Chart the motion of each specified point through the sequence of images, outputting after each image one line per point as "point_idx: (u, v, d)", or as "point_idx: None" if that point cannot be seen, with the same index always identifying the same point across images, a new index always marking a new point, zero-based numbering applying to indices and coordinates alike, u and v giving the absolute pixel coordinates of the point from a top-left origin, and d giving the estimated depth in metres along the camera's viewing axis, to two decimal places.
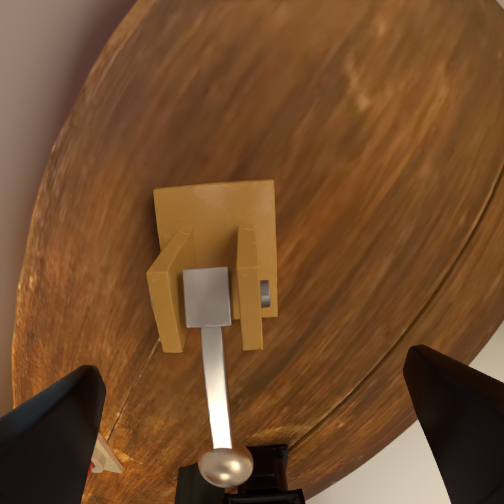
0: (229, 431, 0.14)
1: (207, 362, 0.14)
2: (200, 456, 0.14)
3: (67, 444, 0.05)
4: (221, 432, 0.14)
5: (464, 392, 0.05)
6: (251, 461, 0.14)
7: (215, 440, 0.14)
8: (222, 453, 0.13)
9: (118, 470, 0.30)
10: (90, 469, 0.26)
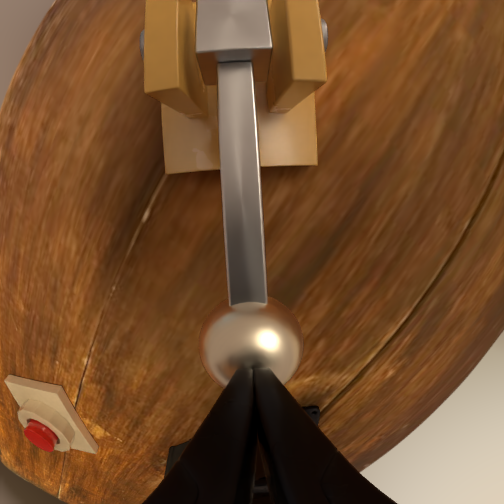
0: (263, 261, 0.08)
1: (226, 116, 0.08)
2: (203, 327, 0.08)
3: (252, 463, 0.05)
4: (247, 264, 0.08)
5: (265, 436, 0.05)
6: (301, 334, 0.09)
7: (235, 284, 0.08)
8: (249, 312, 0.08)
9: (91, 449, 0.23)
10: (52, 444, 0.19)
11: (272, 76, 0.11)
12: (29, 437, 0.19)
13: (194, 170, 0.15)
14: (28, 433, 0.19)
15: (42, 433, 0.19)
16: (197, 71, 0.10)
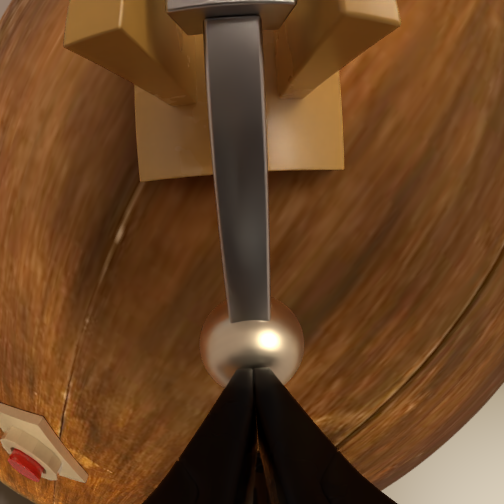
0: (267, 285, 0.07)
1: (220, 108, 0.05)
2: (204, 338, 0.08)
3: (252, 463, 0.05)
4: (249, 288, 0.07)
5: (265, 436, 0.05)
6: (303, 341, 0.08)
7: (235, 306, 0.07)
8: (251, 334, 0.08)
9: (80, 479, 0.19)
10: (38, 475, 0.15)
11: (287, 40, 0.07)
12: (14, 466, 0.15)
13: (177, 176, 0.11)
14: (12, 462, 0.14)
15: (26, 464, 0.15)
16: (176, 32, 0.06)
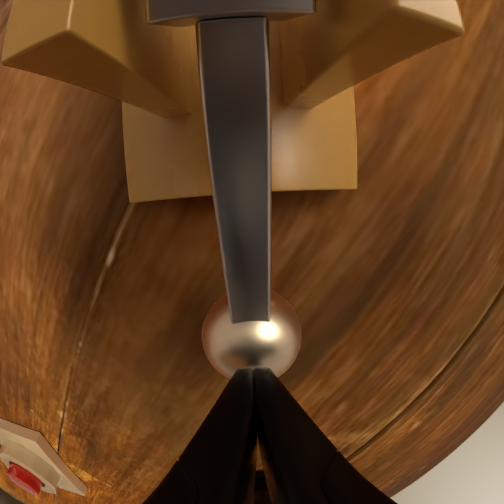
0: (268, 293, 0.07)
1: (219, 129, 0.05)
2: (206, 334, 0.09)
3: (252, 463, 0.05)
4: (250, 296, 0.07)
5: (265, 437, 0.05)
6: (300, 335, 0.09)
7: (237, 311, 0.08)
8: (251, 335, 0.08)
9: (79, 492, 0.18)
10: (37, 489, 0.14)
11: (298, 42, 0.06)
12: (12, 479, 0.14)
13: (171, 197, 0.10)
14: (11, 476, 0.13)
15: (24, 479, 0.14)
16: (164, 32, 0.05)
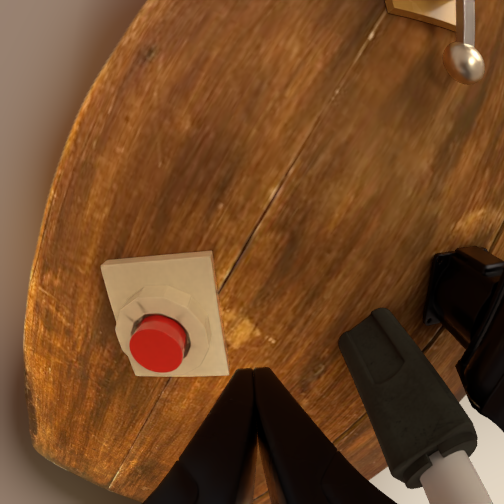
0: (474, 32, 0.11)
1: None
2: (454, 49, 0.12)
3: (252, 464, 0.05)
4: (470, 31, 0.11)
5: (265, 436, 0.05)
6: None
7: (466, 36, 0.11)
8: (472, 47, 0.11)
9: (224, 367, 0.22)
10: (183, 352, 0.18)
11: None
12: (137, 350, 0.18)
13: (412, 11, 0.13)
14: (141, 338, 0.17)
15: (170, 332, 0.18)
16: None
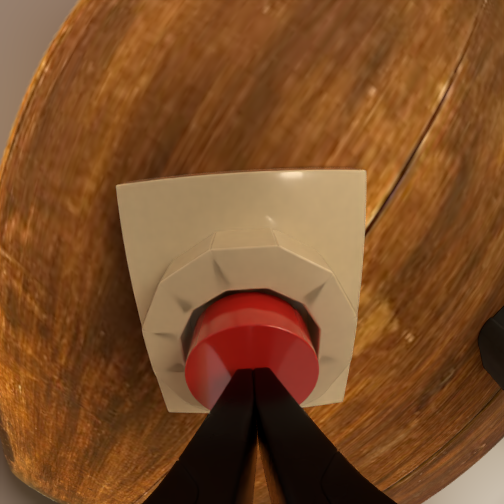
0: None
1: None
2: None
3: (252, 463, 0.05)
4: None
5: (265, 437, 0.05)
6: None
7: None
8: None
9: (340, 390, 0.12)
10: None
11: None
12: (206, 377, 0.07)
13: None
14: (224, 350, 0.07)
15: (298, 329, 0.07)
16: None
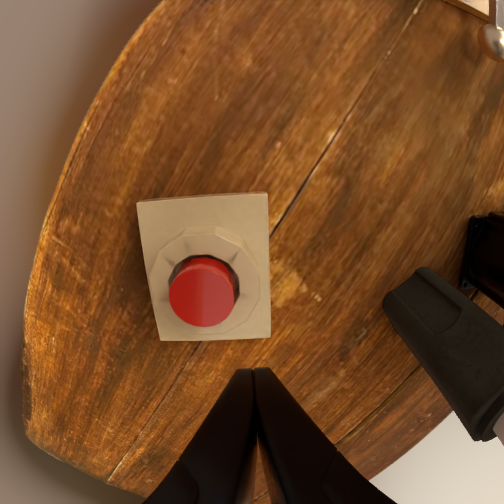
0: None
1: None
2: (488, 29, 0.11)
3: (252, 463, 0.05)
4: (501, 16, 0.10)
5: (265, 437, 0.05)
6: None
7: (498, 20, 0.10)
8: (503, 30, 0.10)
9: (267, 327, 0.20)
10: (233, 300, 0.16)
11: None
12: (179, 297, 0.16)
13: None
14: (187, 281, 0.16)
15: (222, 273, 0.16)
16: None
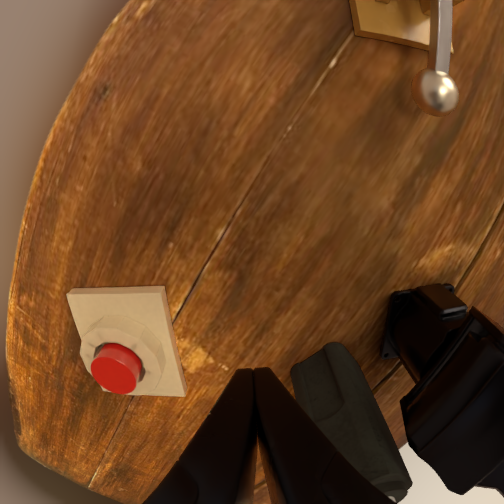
0: (449, 57, 0.12)
1: None
2: (423, 77, 0.13)
3: (252, 463, 0.05)
4: (444, 56, 0.12)
5: (265, 437, 0.05)
6: None
7: (439, 62, 0.12)
8: (445, 75, 0.12)
9: (180, 390, 0.22)
10: (137, 378, 0.19)
11: None
12: (98, 373, 0.18)
13: (381, 33, 0.14)
14: (100, 364, 0.18)
15: (124, 360, 0.18)
16: None
